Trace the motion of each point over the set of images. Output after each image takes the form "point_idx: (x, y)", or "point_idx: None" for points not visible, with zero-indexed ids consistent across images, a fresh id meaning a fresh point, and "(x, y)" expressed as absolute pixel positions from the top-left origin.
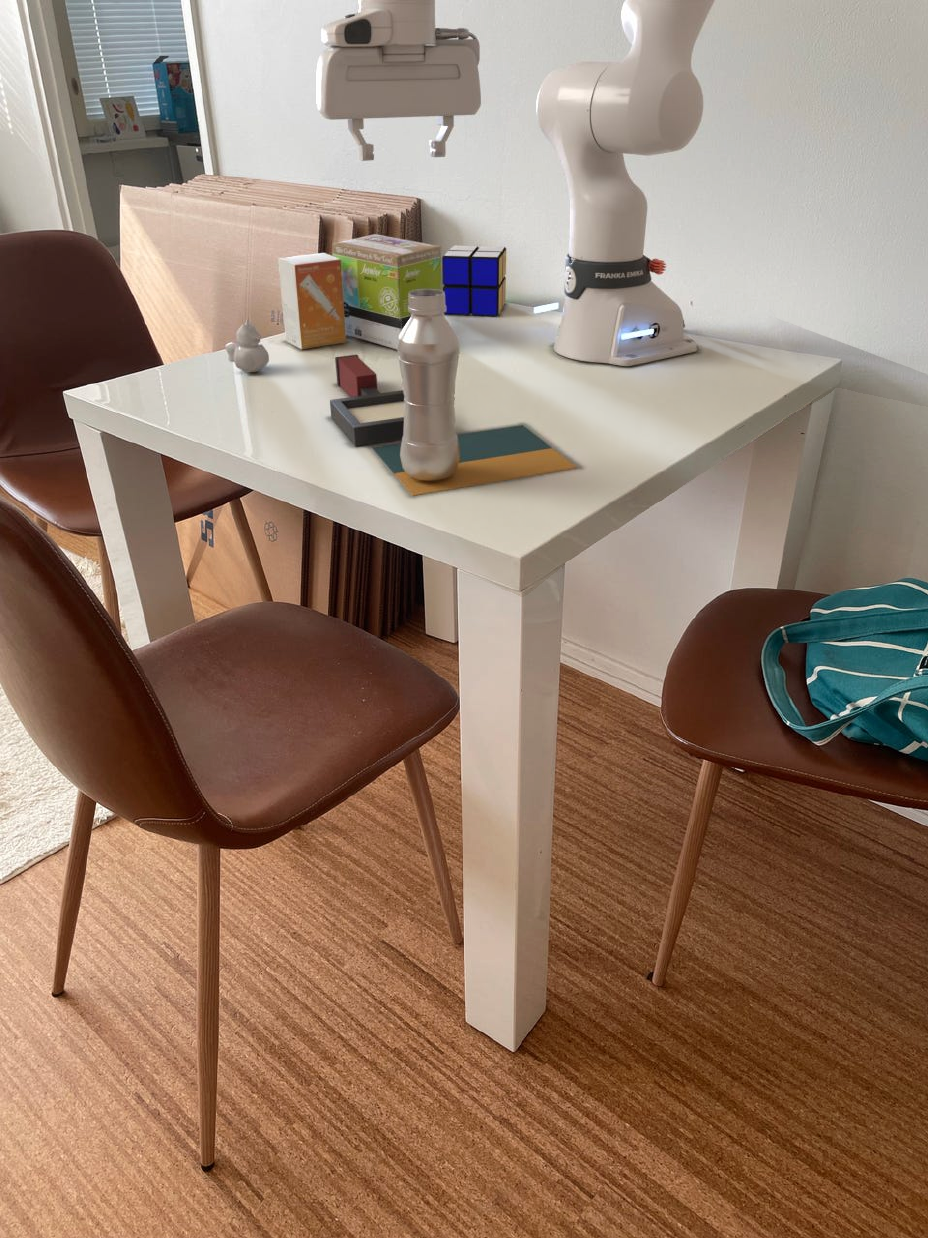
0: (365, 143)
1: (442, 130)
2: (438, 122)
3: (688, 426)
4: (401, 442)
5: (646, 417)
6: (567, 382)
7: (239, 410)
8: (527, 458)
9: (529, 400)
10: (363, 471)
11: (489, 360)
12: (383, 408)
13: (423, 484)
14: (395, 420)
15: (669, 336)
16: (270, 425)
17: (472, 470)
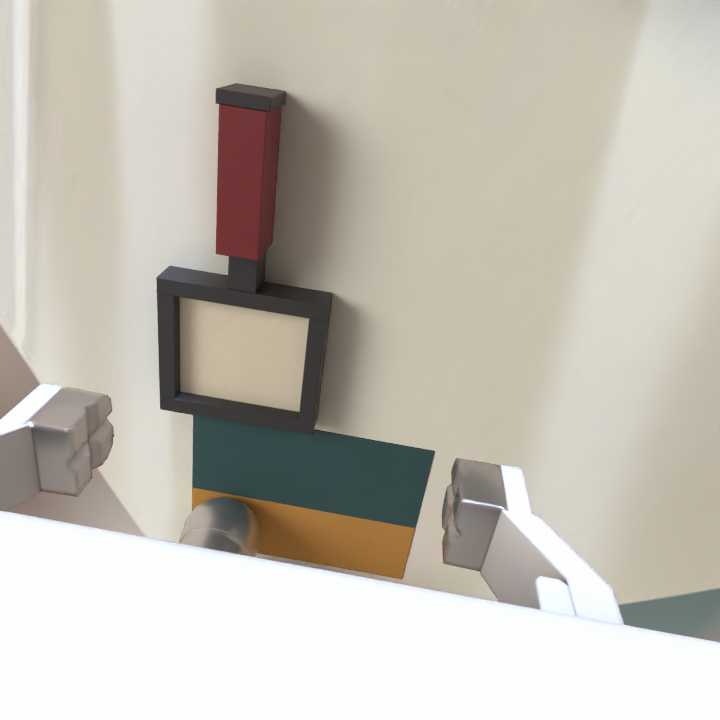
0: (28, 494)
1: (528, 588)
2: (531, 598)
3: (633, 566)
4: (181, 535)
5: (616, 518)
6: (658, 334)
7: (14, 133)
8: (365, 535)
9: (522, 374)
10: (158, 463)
11: (646, 105)
12: (248, 322)
13: None
14: (228, 417)
15: None
16: (62, 243)
17: (284, 527)
